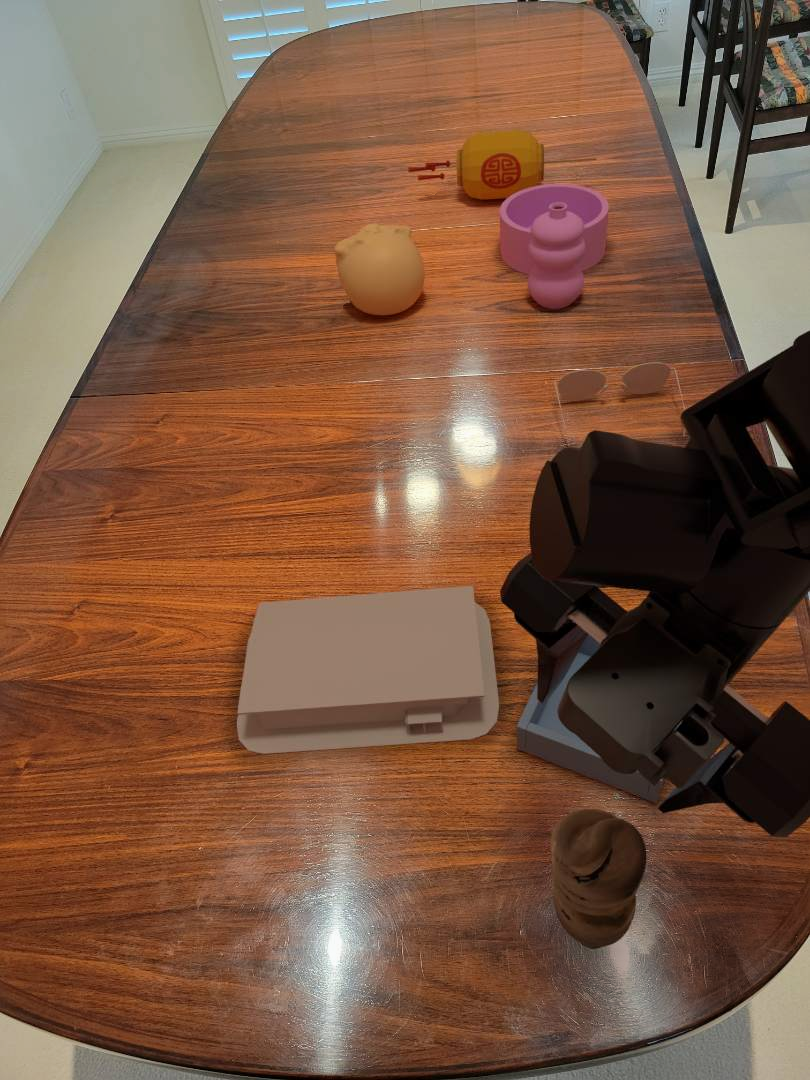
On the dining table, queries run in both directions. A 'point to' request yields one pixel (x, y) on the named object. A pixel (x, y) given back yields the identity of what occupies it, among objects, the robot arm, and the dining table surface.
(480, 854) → the dining table surface
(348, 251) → the sculpture
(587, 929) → the brown ridged cylinder
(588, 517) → the robot arm
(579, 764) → the gray square bin
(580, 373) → the sunglasses
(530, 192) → the container set
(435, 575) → the dining table surface
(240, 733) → the book
